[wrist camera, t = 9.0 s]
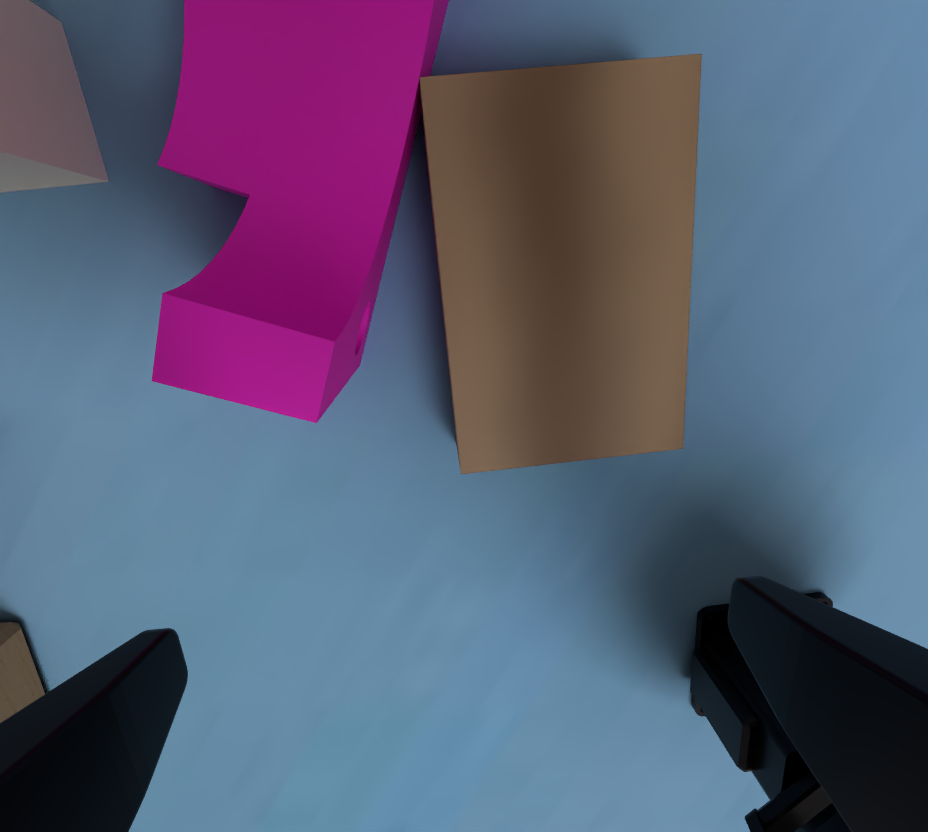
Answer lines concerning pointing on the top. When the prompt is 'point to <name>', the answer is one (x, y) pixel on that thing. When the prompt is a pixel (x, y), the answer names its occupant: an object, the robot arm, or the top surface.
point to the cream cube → (42, 105)
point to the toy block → (292, 189)
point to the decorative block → (16, 672)
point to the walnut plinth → (564, 255)
